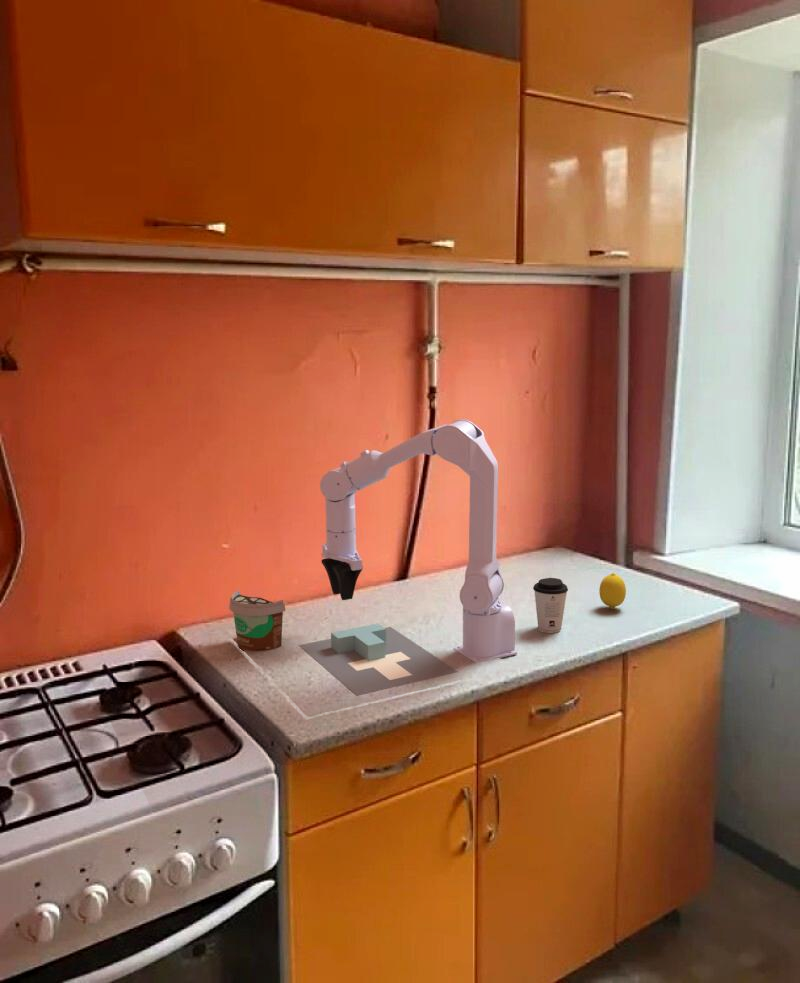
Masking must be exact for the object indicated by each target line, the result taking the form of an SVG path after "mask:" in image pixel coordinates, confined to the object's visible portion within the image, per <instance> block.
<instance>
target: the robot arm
mask: <svg viewBox="0 0 800 983" xmlns="http://www.w3.org/2000/svg"><path fill="white" fill-rule="evenodd" d="M421 454H425V455H428V456H436V455H437V456H438V457H440V458H442V459H443V460H444V461H447V462H449V463H451V464H454V465H456V466H457V467H459V468H460V469H461V470H462V471H463V472H464V473H466V474H467V475H468V476H469V518H468V520H469V522H468V523H469V524H468V525H469V526H468V529H469V530H468V562H467V566H466V568H465V573H464V583H463V585H462V586H461V588H460V590H459V601H460V603H461V605H462V645H459V646H453V650H455V651H457V652H458V653H460V654H461V655H462V656H464V657H466V658H468V659H469V660H470V661H472V662H474V663H479V662H484V661H487V660H492V659H497V658H498V659H501V658H505V657H506V658H507V657H510V656H511V657H512V656H514V655H517V654H518V651H517V650H516V649H515V648H516V647H515V646H516V644H515V643H516V618H515V614H514V612H513V610H512V608H511V607H510V606H509V605H508V604H505V603H501V601H500V599H499V597H500V595H502V593H503V591H504V588H505V581H504V578H503V576H502V574H501V570H500V569H501V568H500V562H499V560H498V558H497V542H498V541H497V538H498V536H497V535H498V533H497V532H498V529H497V528H498V498H499V496H498V495H499V494H498V492H499V491H498V490H499V488H498V486H499V485H498V484H499V464H498V463H499V462H498V460H497V459H496V457H495V455H494V453H493V451H492V449H491V448H490V445H489V444H488V443H487V440H486V438H485V433H484V431H483V430H482V429H481V428H479V427H478V425H476V424H475V423H474V422H472V421H470V420H468V419H464V418H463V419H457V420H454V421H453V422H451V423H450V424H448V423H446V424H444V425H440V426H437V427H434V428H430V429H427V430H424V431H423V432H419V433H418V434H416V435H414V436H413V437H411V438H408V439H407V440H405V441H403V442H401V443H400V444H398V445H396V446H393V447H392V448H390V449H388V450H386V451H385V452H382V451H381V452H380V451H378V450H376V449H375V450H371V451H369V450H368V449H366V450H364V451H362V452H360V453H359V455H360V456H359V457H357V458H355V459H353V460H351V461H349V462H348V461H343V462H341V463H340V467H338V468H335V469H332V470H328V471H327V472H326V473H325V474H324V475H323V476H322V477H321V479H320V482H319V489H320V492H321V494H322V495H323V496H324V500H325V502H324V504H325V532H326V533H325V534H326V542H325V543H322V545H321V547H322V551H321V553H320V554H321V555H320V556H321V558H322V559H321V564H322V566H323V567H324V569H325V571H326V573H327V576H328V580H329V583H330V587H331V592H332V594H333V595H339V596H340V599H341V600H342V601H348V600H353V597H354V593H355V589H356V585H357V581H358V578H359V576H360V574H361V572H362V571H363V569H364V567H363V559H362V558H361V557H360V554H359V552H358V550H357V536H356V535H357V532H356V530H357V528H356V526H357V524H356V501H355V500H356V497H355V496H356V495H355V494H356V492H358V491H361V490H364V489H365V488H368V487H370V486H371V485H374V484H376V483H379V482H380V481H382V480H384V479H386V478H387V477H388V475H389V472H390V469H391V468H392V467H396V465H398V464H402V463H403V462H406V461H408V460H410V459H413V458H415V457H417V456H420V455H421Z"/></svg>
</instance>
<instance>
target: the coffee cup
mask: <svg viewBox="0 0 800 983" xmlns="http://www.w3.org/2000/svg"><path fill="white" fill-rule="evenodd" d="M532 588H533V591H534V598H535V600H534V601H535V609H536V618H537V620H536V621H537V628H538V630H539V632H542V631H543V633H545V632H547V633H548V634H555V633H554V632H556V633H559V632H561V631H562V625H563V620H564V614H565V613H564V612H565V608H566V607H565V606H566V599H567V594H568V591H569V588H568V586H567V585H566V584H565V583H564V582H563V580H562V579H560V578H555V577H544V578H541V579H538V582H536V583H534V586H532ZM560 630H561V631H560Z"/></svg>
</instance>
